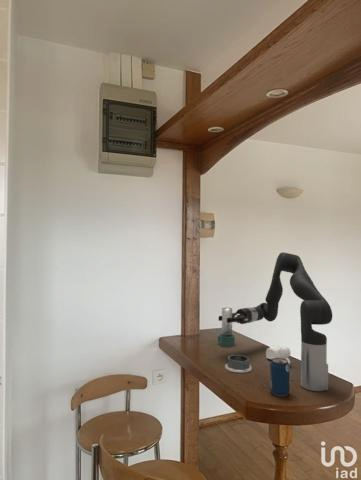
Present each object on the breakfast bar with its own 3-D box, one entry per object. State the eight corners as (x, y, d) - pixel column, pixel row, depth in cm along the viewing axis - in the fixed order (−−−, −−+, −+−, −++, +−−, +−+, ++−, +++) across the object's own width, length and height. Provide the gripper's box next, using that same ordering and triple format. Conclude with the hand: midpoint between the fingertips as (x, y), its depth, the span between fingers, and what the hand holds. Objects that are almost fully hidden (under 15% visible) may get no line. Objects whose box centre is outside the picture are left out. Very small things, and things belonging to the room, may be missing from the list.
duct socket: (250, 364, 160) (250, 354, 160) (252, 373, 148) (252, 363, 148) (224, 363, 161) (225, 353, 161) (225, 372, 150) (225, 361, 150)
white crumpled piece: (265, 365, 168) (280, 363, 154) (262, 347, 171) (277, 343, 157) (281, 364, 170) (298, 362, 156) (277, 346, 173) (294, 342, 160)
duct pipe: (232, 332, 171) (232, 307, 172) (232, 334, 166) (232, 309, 167) (221, 331, 172) (221, 307, 172) (221, 334, 167) (221, 309, 167)
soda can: (293, 394, 128) (293, 361, 128) (280, 398, 124) (280, 364, 125) (278, 387, 134) (279, 356, 134) (265, 391, 130) (266, 359, 130)
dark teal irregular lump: (231, 342, 197) (231, 326, 197) (236, 346, 188) (236, 330, 188) (216, 342, 195) (216, 326, 196) (220, 347, 186) (220, 330, 187)
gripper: (236, 306, 184) (212, 309, 173) (258, 310, 173) (234, 314, 162) (236, 320, 184) (212, 324, 173) (258, 325, 172) (234, 330, 162)
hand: (223, 319), depth 168 cm, fingers closed on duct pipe, 5 cm apart
